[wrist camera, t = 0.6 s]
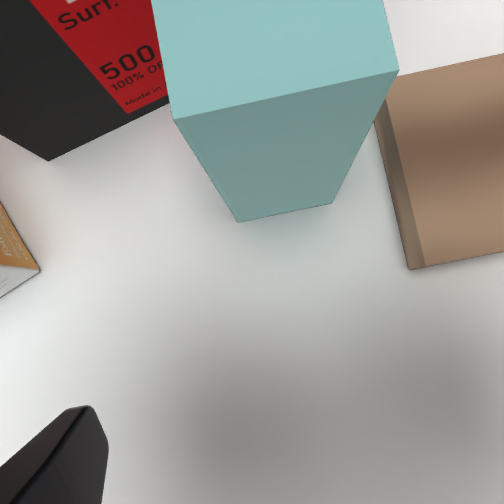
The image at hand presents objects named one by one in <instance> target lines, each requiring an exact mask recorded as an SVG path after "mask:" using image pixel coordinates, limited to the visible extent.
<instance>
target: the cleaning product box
mask: <svg viewBox="0 0 504 504" xmlns="http://www.w3.org/2000/svg"><path fill="white" fill-rule="evenodd" d="M168 103H170V101H169V96H168V90H167V85H166V79H165V74H164V68H163V63H162V57H161V52H160V47H159V41H158V36H157V30H156V25H155V19H154V14H153V8H152V3H151V0H0V134H1V135H2V136H4V137H6V138H8V139H9V140H11V141H13V142H15V143H17V144H18V145H20V146H22V147H24V148H25V149H27V150H29V151H31V152H32V153H34V154H36V155H38V156H39V157H41V158H43V159H45V160H46V161H50V160H52V159H54V158H57V157H59V156H61V155H63V154H65V153H67V152H69V151H71V150H73V149H75V148H77V147H79V146H81V145H83V144H86V143H88V142H90V141H92V140H94V139H96V138H98V137H100V136H102V135H104V134H106V133H108V132H110V131H112V130H114V129H117V128H119V127H121V126H123V125H125V124H127V123H129V122H131V121H133V120H135V119H137V118H139V117H141V116H143V115H146V114H148V113H150V112H152V111H154V110H156V109H158V108H160V107H162V106H164V105H166V104H168Z"/></svg>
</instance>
